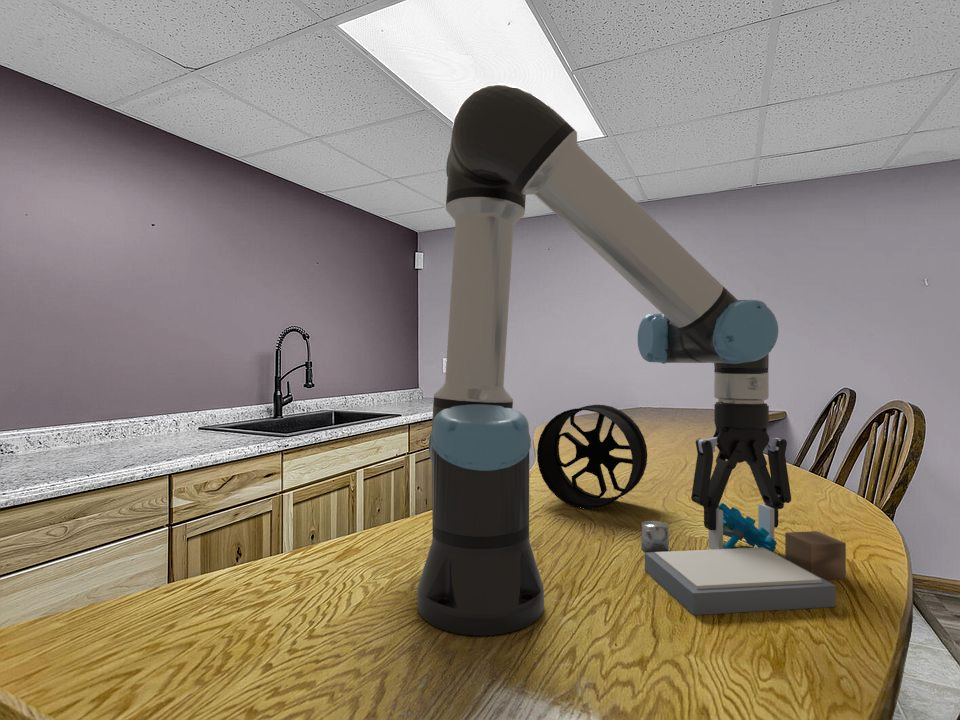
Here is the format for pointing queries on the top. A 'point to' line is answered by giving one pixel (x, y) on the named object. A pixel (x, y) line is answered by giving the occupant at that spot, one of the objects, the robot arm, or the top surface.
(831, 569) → the walnut block
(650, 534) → the steel cylinder
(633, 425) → the car wheel rim
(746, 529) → the gear
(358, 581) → the top surface
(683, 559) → the stand
